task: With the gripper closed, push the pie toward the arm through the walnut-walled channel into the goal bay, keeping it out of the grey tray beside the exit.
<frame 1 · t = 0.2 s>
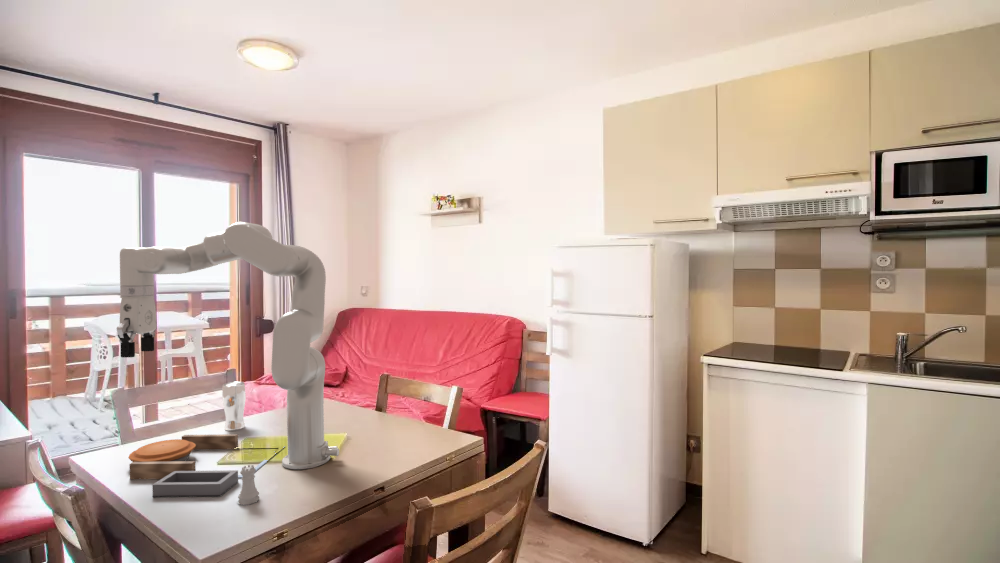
hand: (138, 354, 140), 30 cm above the table, tool pointing down, fingers open, 9 cm apart
rook chess piece: (248, 502, 116), on the table
grey tray: (196, 489, 123), on the table
goal bay: (238, 461, 140), on the table
pie: (163, 463, 141), on the table
beer glass: (234, 428, 171), on the table
channel walls: (188, 462, 141), on the table
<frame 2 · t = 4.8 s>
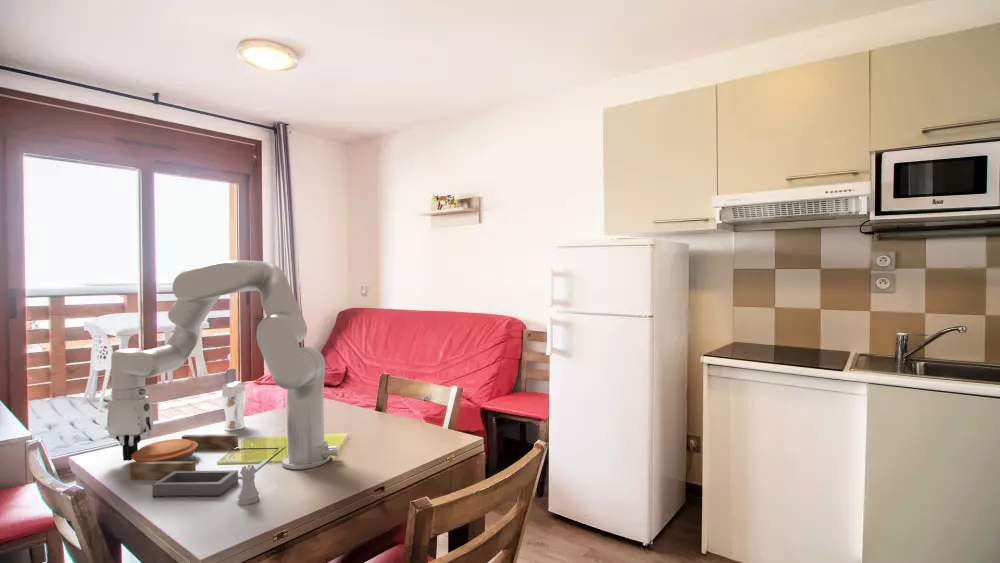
hand: (130, 458, 141), 1 cm above the table, tool pointing down, fingers closed
nothing on the table moved.
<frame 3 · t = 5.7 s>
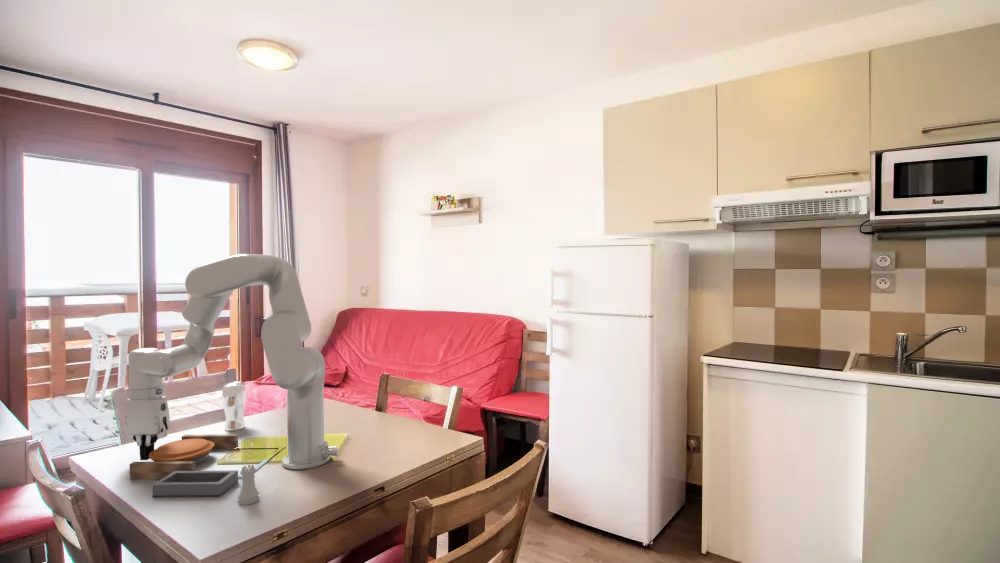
hand: (147, 458, 141), 1 cm above the table, tool pointing down, fingers closed
pie: (182, 462, 141), on the table, touching gripper
everything else where it was.
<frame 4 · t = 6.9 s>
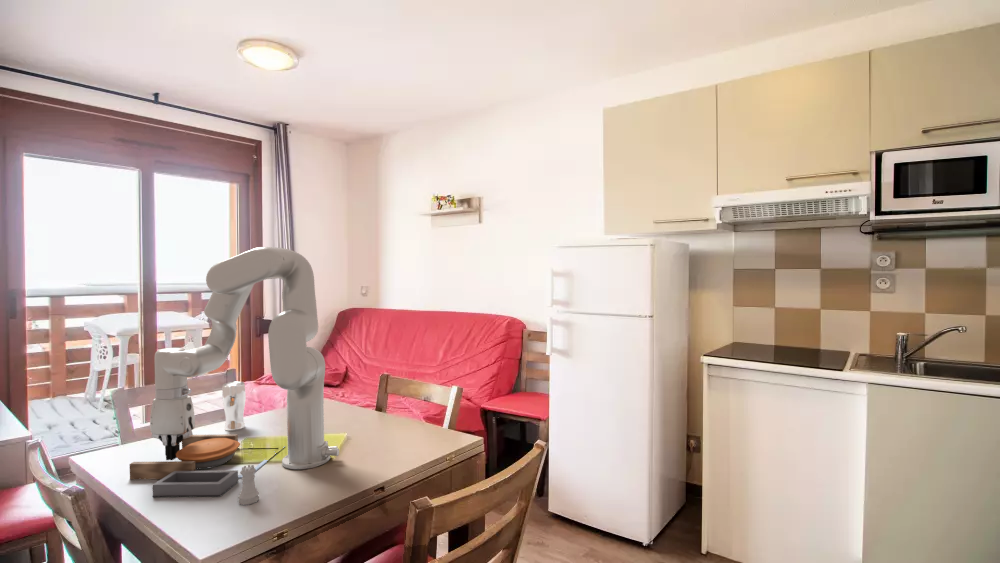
hand: (172, 458, 140), 1 cm above the table, tool pointing down, fingers closed
pie: (208, 462, 141), on the table, touching gripper
everything else where it was.
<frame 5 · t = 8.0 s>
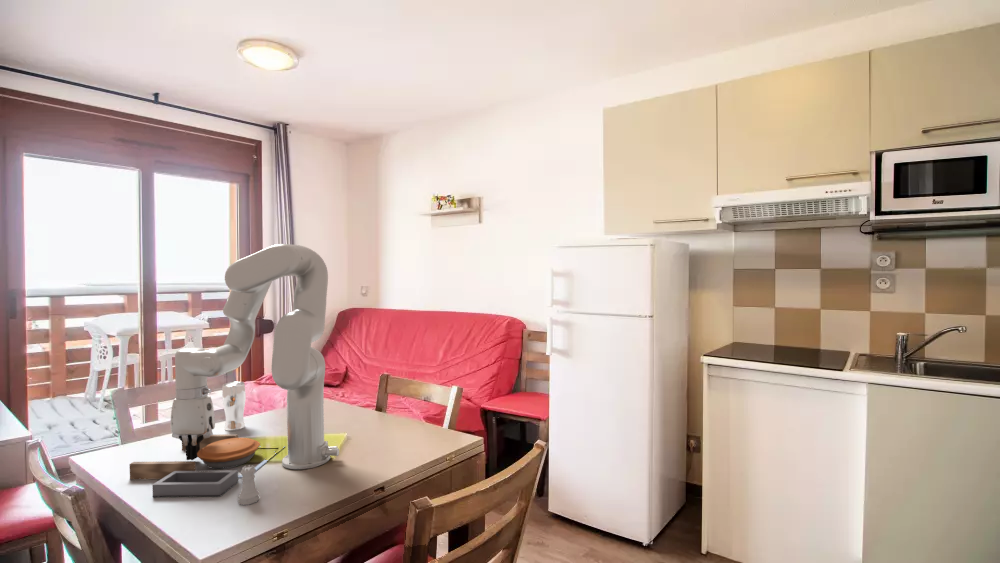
hand: (192, 458, 140), 1 cm above the table, tool pointing down, fingers closed
pie: (229, 461, 141), on the table, touching gripper
everything else where it was.
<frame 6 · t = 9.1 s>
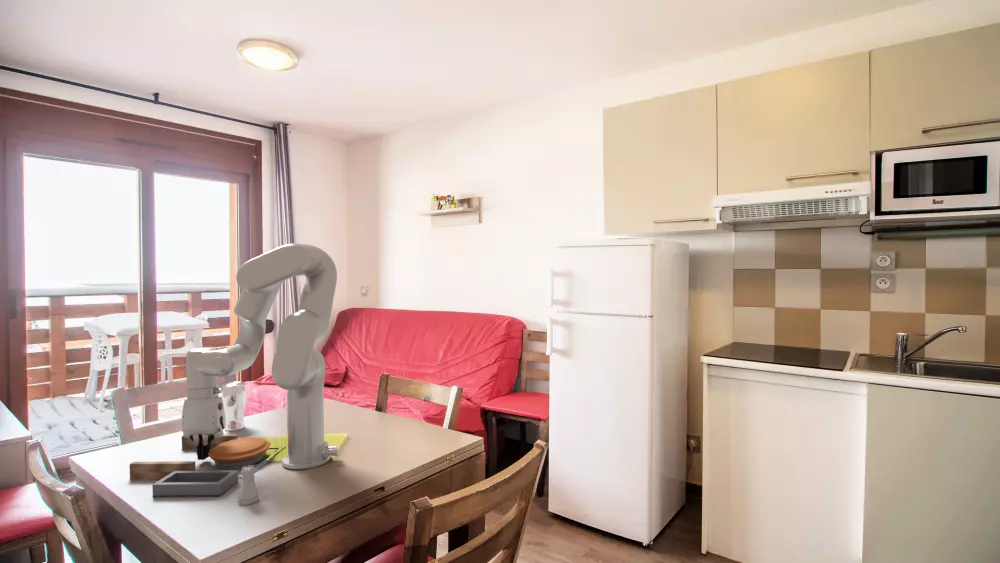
hand: (203, 457, 140), 1 cm above the table, tool pointing down, fingers closed
pie: (240, 461, 141), on the table
everything else where it was.
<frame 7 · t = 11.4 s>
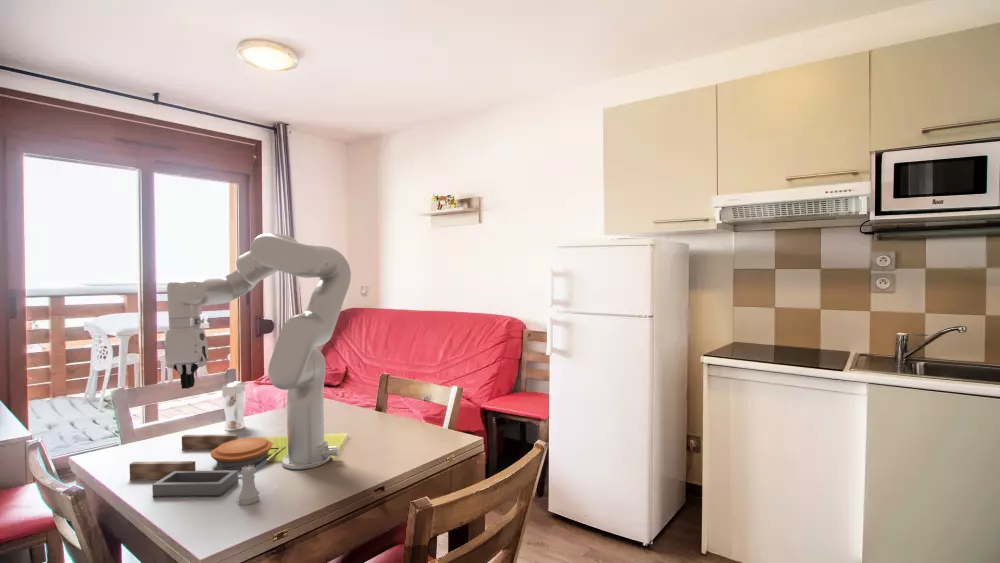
hand: (187, 387, 144), 20 cm above the table, tool pointing down, fingers closed
pie: (242, 461, 141), on the table, touching goal bay
everything else where it was.
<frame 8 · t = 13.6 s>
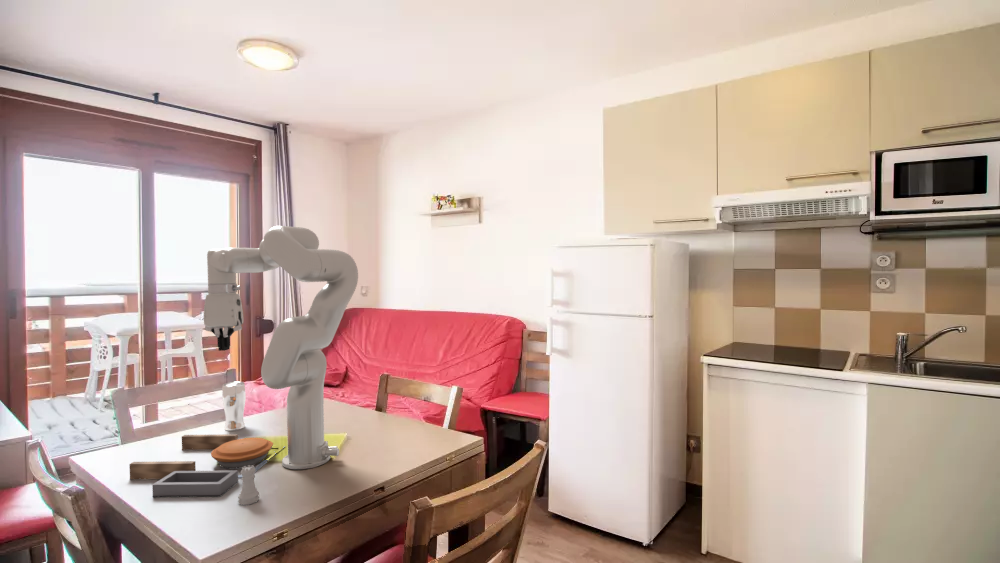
hand: (224, 349, 154), 29 cm above the table, tool pointing down, fingers closed
nothing on the table moved.
at the end: pie inside the target area (1.0 cm from its centre), on the table; pie touching goal bay, table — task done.
